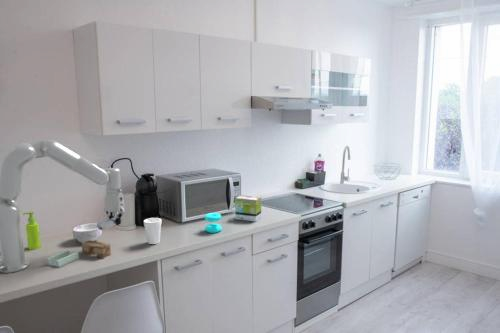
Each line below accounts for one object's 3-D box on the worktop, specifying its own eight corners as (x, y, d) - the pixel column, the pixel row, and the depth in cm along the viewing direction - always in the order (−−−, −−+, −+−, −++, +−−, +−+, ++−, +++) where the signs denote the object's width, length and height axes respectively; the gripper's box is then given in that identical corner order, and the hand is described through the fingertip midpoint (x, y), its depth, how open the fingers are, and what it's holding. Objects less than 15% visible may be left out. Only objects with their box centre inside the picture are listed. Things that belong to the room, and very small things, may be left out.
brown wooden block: (103, 258, 198) (102, 246, 197) (82, 254, 204) (81, 243, 203) (110, 254, 203) (110, 243, 202) (90, 251, 208) (89, 240, 207)
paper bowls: (74, 238, 230) (73, 224, 228) (102, 234, 235) (101, 221, 234) (73, 246, 216) (71, 232, 214) (102, 242, 221) (101, 229, 220)
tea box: (235, 219, 260) (234, 197, 258) (241, 215, 270) (240, 194, 267) (256, 222, 255) (255, 199, 252) (261, 217, 264) (261, 196, 261)
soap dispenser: (26, 247, 216) (23, 211, 213) (41, 245, 219) (37, 210, 215) (25, 250, 211) (21, 214, 207) (40, 248, 213) (36, 212, 210)
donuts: (211, 211, 244) (224, 213, 239) (211, 227, 245) (225, 229, 240) (201, 215, 235) (214, 218, 230) (201, 231, 237) (215, 234, 232)
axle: (103, 230, 205) (103, 223, 204) (97, 228, 206) (97, 221, 206) (121, 223, 218) (122, 216, 217) (116, 221, 219) (116, 214, 218)
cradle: (59, 267, 188) (59, 261, 187) (46, 264, 192) (45, 258, 191) (79, 258, 199) (79, 252, 198) (66, 255, 202) (65, 250, 202)
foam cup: (146, 246, 213) (144, 223, 211) (144, 241, 222) (142, 219, 220) (163, 244, 217) (162, 221, 215) (161, 239, 225) (160, 217, 223)
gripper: (130, 191, 213) (131, 224, 215) (106, 188, 219) (108, 220, 222) (121, 193, 206) (122, 227, 208) (96, 190, 212) (98, 224, 215)
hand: (115, 223), depth 215 cm, fingers closed on axle, 4 cm apart
